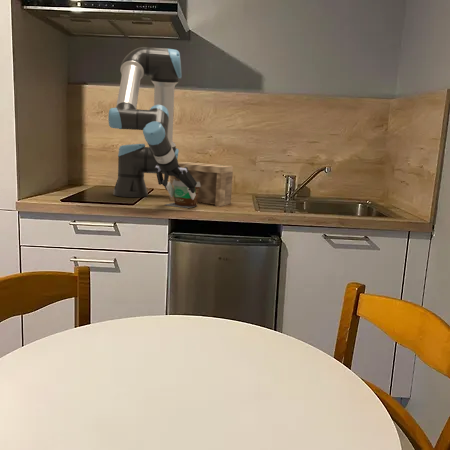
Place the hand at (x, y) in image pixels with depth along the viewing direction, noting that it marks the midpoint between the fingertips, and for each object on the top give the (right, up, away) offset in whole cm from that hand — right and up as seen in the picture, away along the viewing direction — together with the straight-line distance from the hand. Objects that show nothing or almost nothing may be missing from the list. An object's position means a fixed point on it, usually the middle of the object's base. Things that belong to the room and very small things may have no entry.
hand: (183, 195), depth 217 cm
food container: (0, -4, +1) cm, 4 cm away
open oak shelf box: (+6, -2, +16) cm, 17 cm away
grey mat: (-1, -4, +1) cm, 4 cm away
